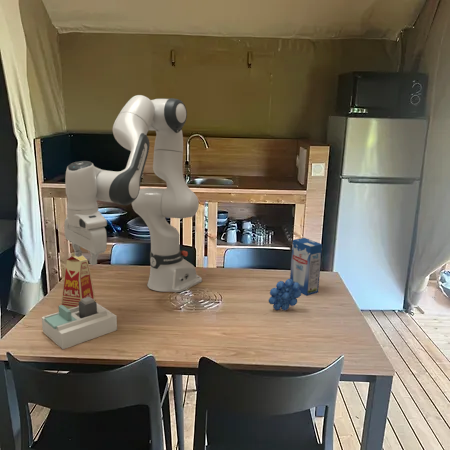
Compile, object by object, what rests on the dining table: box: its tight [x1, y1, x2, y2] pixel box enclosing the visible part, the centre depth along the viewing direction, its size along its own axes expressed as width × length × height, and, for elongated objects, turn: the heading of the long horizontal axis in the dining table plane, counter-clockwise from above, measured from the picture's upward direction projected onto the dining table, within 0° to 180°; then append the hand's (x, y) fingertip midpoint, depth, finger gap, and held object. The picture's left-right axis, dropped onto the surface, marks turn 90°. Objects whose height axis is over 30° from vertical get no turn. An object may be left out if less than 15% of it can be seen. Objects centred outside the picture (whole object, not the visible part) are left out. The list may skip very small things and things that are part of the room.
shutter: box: [44, 304, 77, 329], centre depth 138 cm, size 7×7×4 cm
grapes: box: [268, 278, 302, 311], centre depth 162 cm, size 12×7×12 cm, turn 95°
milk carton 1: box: [60, 252, 96, 309], centre depth 160 cm, size 9×9×20 cm
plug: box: [79, 297, 98, 318], centre depth 144 cm, size 4×4×10 cm
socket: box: [41, 302, 118, 350], centre depth 143 cm, size 18×14×6 cm
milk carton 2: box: [289, 237, 323, 297], centre depth 179 cm, size 10×6×20 cm, turn 34°
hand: (85, 260), depth 140 cm, fingers open, 8 cm apart
